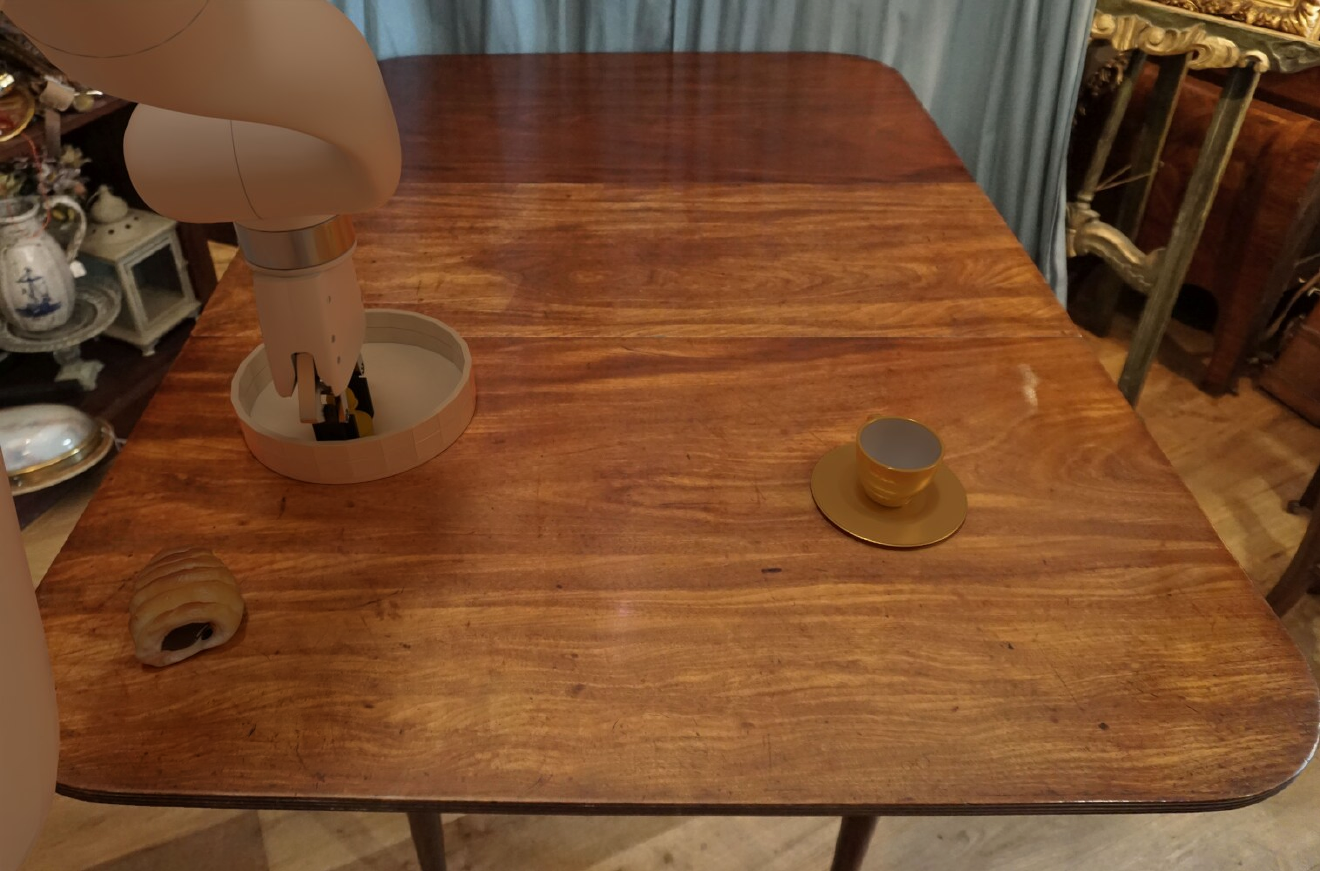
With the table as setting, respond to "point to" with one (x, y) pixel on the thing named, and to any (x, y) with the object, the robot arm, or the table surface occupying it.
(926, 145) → the table surface
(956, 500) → the cup
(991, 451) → the table surface
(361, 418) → the chess piece
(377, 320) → the bowl
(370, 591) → the table surface
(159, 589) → the pastry
